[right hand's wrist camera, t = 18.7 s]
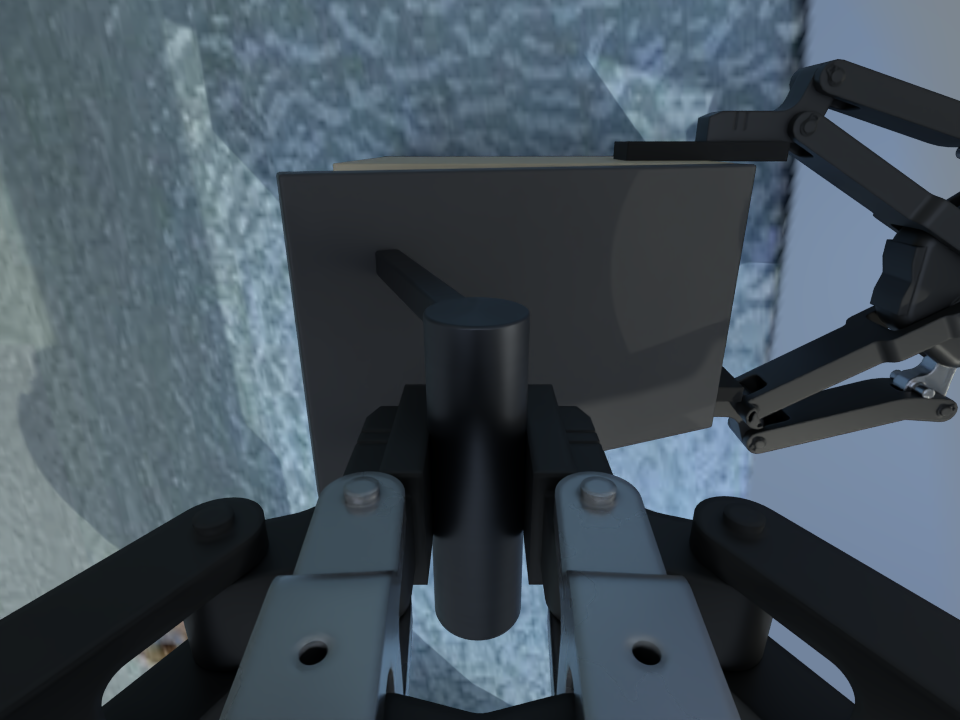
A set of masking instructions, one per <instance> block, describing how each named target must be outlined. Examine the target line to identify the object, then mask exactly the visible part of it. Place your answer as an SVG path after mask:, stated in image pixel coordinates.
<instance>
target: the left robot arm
mask: <svg viewBox="0 0 960 720" xmlns="http://www.w3.org/2000/svg"><path fill="white" fill-rule="evenodd" d="M789 85H790V92H789V94H788V96H787V97H786V99H785V101H784V102H783V104H782V105H781V106H780V107H779V108H777V109H776V110H774V111H719V112H713V113H709V114H707V115H704V116H702V117H699V118H698V124H697V132H696V140H695V141H627V142H615V145H614V157H613V159H617V160H624V161H787V157H788V153H789V154H790V155H791V156H793V157H794V158H796V159H797V160H799V161H800V162H801V163H803V164H804V165H806V166H807V167H809V168H810V169H811V170H813V171H814V172H816V173H817V174H819V175H820V176H821V177H823V178H824V179H826V180H827V181H829V182H830V183H831V184H833V185H834V186H836V187H837V188H839V189H840V190H841V191H843V192H844V193H846V194H847V195H849V196H850V197H851V198H853V199H854V200H856V201H857V202H859V203H860V204H861V205H863V206H864V207H866V208H867V209H869V210H870V211H871V212H873V216H874V217H875V218H876V219H878V220H879V221H881V222H882V223H884V224H885V225H886V226H888V227H889V228H891V229H892V230H894V231H895V232H896V233H897V234H896V235H895V237H894V238H893V240H891V239H887V241H886V245H885V249H884V252H883V272H882V275H881V276H880V278H879V280H878V282H877V284H876V286H875V287H874V290H873V294H872V298H871V301H870V304H872V305H874V306H872V307H870V308H868V309H866V310H864V311H862V312H860V313H858V314H856V315H854V316H851V317H850V318H848V319H847V320H846V324H845V325H844V326H843V327H841V328H838V329H836V330H834V331H832V332H830V333H828V334H826V335H824V336H822V337H820V338H818V339H816V340H813V341H811V342H809V343H807V344H805V345H803V346H801V347H799V348H797V349H795V350H793V351H791V352H788V353H786V354H784V355H782V356H780V357H778V358H776V359H774V360H772V361H770V362H767V363H765V364H763V365H761V366H759V367H757V368H755V369H753V370H751V371H749V372H747V373H745V374H742V375H740V376H738V377H736V378H734V377H733V376H732V375H731V374H730V373H729V372H728V371H727V370H726V369H725V368H724V367H723V366H722V370H721V375H720V381H719V387H718V393H717V399H716V405H715V410H714V416H713V417H729V419H728V425H729V427H730V428H731V430H732V431H733V432H734V433H735V435H736V436H737V437H738V438H739V439H740V441H741V442H742V443H743V444H744V446H745V447H746V448H747V449H748V450H749V451H750V452H751V453H755V454H759V453H764V452H769V451H773V450H777V449H782V448H786V447H790V446H794V445H799V444H803V443H807V442H812V441H816V440H820V439H825V438H829V437H833V436H837V435H842V434H846V433H850V432H855V431H859V430H863V429H868V428H872V427H876V426H880V425H885V424H889V423H893V422H898V421H902V420H917V421H933V422H944V421H947V420H949V419H951V418H952V417H953V416H954V415H955V414H956V412H957V408H958V407H957V404H956V403H955V402H954V401H953V400H951V399H949V398H948V397H946V393H947V391H948V388H949V386H950V383H951V381H952V378H953V376H954V373H955V371H956V368H958V367H960V192H958V193H957V194H955V195H954V196H952V197H950V198H949V199H947V200H945V199H943V198H940V197H938V196H935V195H933V194H931V193H929V192H928V191H926V190H925V189H924V188H922V187H921V186H919V185H918V184H917V183H915V182H914V181H913V180H911V179H910V178H909V177H907V176H906V175H904V174H903V173H902V172H900V171H899V170H897V169H896V168H895V167H893V166H892V165H891V164H889V163H888V162H886V161H885V160H884V159H882V158H881V157H880V156H878V155H877V154H875V153H874V152H873V151H871V150H870V149H869V148H867V147H866V146H864V145H863V144H862V143H860V142H859V141H857V140H856V139H855V138H853V137H852V136H851V135H849V134H848V133H846V132H845V131H844V130H842V129H841V128H840V127H838V126H837V125H835V124H834V123H833V122H831V121H830V120H829V119H827V118H826V117H824V115H825V114H826V112H827V110H828V109H831V110H834V111H837V112H840V113H843V114H846V115H848V116H851V117H854V118H857V119H860V120H863V121H866V122H869V123H871V124H874V125H877V126H880V127H883V128H886V129H889V130H892V131H895V132H897V133H900V134H903V135H906V136H909V137H912V138H915V139H918V140H921V141H923V142H926V143H929V144H933V145H937V146H943V147H958V149H957V151H956V157H957V158H959V159H960V101H958V100H956V99H953V98H950V97H947V96H944V95H942V94H939V93H936V92H933V91H930V90H927V89H925V88H922V87H919V86H916V85H913V84H911V83H908V82H905V81H902V80H899V79H896V78H894V77H891V76H888V75H885V74H882V73H880V72H877V71H874V70H871V69H868V68H865V67H863V66H860V65H857V64H854V63H851V62H849V61H846V60H841V59H837V60H833V61H829V62H825V63H821V64H817V65H813V66H809V67H805V68H802V69H799V70H798V71H797V72H795V73H794V75H793V76H792V78H791V81H790V84H789ZM888 328H889V329H888ZM890 329H891V330H890ZM917 354H920V355H921V356H923V357H924V358H923V360H922V362H921V363H920V364H919V365H918V366H916V367H915V368H912V369H908V370H903V371H900V370H895V371H893V372H892V373H891V374H890V378H876V379H869V380H864V381H860V382H855V383H851V384H847V385H843V386H839V387H835V388H831V389H827V390H824V389H826V388H829V387H831V386H833V385H835V384H837V383H839V382H842V381H844V380H846V379H848V378H850V377H853V376H855V375H857V374H859V373H861V372H863V371H866V370H868V369H870V368H872V367H874V366H877V365H879V364H881V363H885V362H900V361H903V360H906V359H908V358H910V357H912V356H914V355H917ZM822 390H823V391H822Z"/></svg>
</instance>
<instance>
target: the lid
mask: <svg viewBox="0 0 960 720" xmlns="http://www.w3.org/2000/svg"><path fill="white" fill-rule="evenodd" d="M755 171H756V165H754V164H733V163H721V164H669V165H616V166H564V167H511V168H459V169H407V170H354V171H302V172H278V173H277V175H276V177H277V185H278V193H279V200H280V208H281V216H282V223H283V231H284V239H285V246H286V254H287V262H288V269H289V277H290V285H291V292H292V300H293V308H294V315H295V323H296V331H297V338H298V346H299V354H300V361H301V369H302V377H303V384H304V392H305V400H306V407H307V415H308V423H309V430H310V438H311V446H312V453H313V461H314V469H315V476H316V484H317V492H318V497H319V496H320V494H321V492H322V491H323V489H324V488H325V487H326V486H327V485H329V484H330V483H331V482H333V481H335V480H336V479H338V478H341V477H343V474H344V472H345V469H346V467H347V464H348V462H349V459H350V457H351V454H352V452H353V450H354V447H355V445H356V444H357V440H358V437H359V435H360V433H361V430H362V427H363V425H364V422H365V420H366V417H367V416H369V415H370V414H371V413H373V412H374V411H375V410H376V409H378V408H379V407H380V406H399V403H400V399H401V396H402V393H403V389H404V386H405V384H426V401H427V425H428V430H429V435H430V461H431V486H432V512H433V542H432V546H433V570H434V594H435V611H436V615H437V617H438V619H439V621H440V623H441V624H442V625H443V626H444V628H445V629H447V630H448V631H449V632H450V633H452V634H454V635H456V636H458V637H460V638H464V639H468V640H488V639H492V638H495V637H498V636H500V635H502V634H504V633H505V632H506V631H508V630H509V629H510V628H511V627H512V626H513V625H514V624H515V622H516V620H517V619H518V617H519V614H520V610H521V583H522V552H523V515H524V485H525V456H526V428H527V399H528V384H552V386H553V389H554V393H555V396H556V399H557V403H558V406H577V407H578V408H580V409H581V410H582V411H583V412H585V413H586V414H587V415H588V416H590V417H591V420H592V423H593V425H594V428H595V430H596V431H595V432H596V433H597V435H598V438H599V440H600V444H601V445H602V448H603V450H604V451H606V450H610V449H615V448H619V447H624V446H628V445H633V444H637V443H642V442H646V441H651V440H655V439H660V438H664V437H669V436H673V435H678V434H682V433H687V432H691V431H696V430H700V429H705V428H709V427H711V426H712V422H713V416H714V410H715V405H716V399H717V393H718V387H719V381H720V375H721V370H722V364H723V358H724V352H725V346H726V340H727V334H728V329H729V323H730V317H731V311H732V305H733V299H734V294H735V288H736V282H737V276H738V270H739V264H740V259H741V253H742V247H743V241H744V235H745V229H746V224H747V218H748V212H749V206H750V200H751V194H752V189H753V183H754V177H755Z"/></svg>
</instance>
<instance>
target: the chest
mask: <svg viewBox="0 0 960 720" xmlns="http://www.w3.org/2000/svg"><path fill="white" fill-rule="evenodd" d="M613 157H614V156H385V157H380V158H373V159H365V160H357V161H349V162H342V163H334V164H333V171H354V170H407V169H459V168H511V167H564V166H616V165H669V164H721V163H727V162H716V161H624V160H617V159H613ZM733 164H734V163H733Z"/></svg>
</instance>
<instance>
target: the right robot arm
mask: <svg viewBox="0 0 960 720" xmlns="http://www.w3.org/2000/svg"><path fill="white" fill-rule="evenodd" d="M595 431H596V430H595V428H594V425H593V423H592V420H591V417H590V416H588V415H587V414H586V413H585V412H583V411H582V410H581V409H580V408H578V407H577V406H558V403H557V399H556V396H555V393H554V389H553V386H552V384H528V399H527V428H526V456H525V485H524V515H523V535H524V544H525V553H526V562H527V572H528V581H529V585H543V587H544V594H545V600H546V604H547V606H548V618H547V624H548V642H549V660H550V678H551V696H550V697H546V698H543V699H539V700H535V701H531V702H527V703H523V704H520V705H516V706H512V707H508V708H504V709H500V710H496V711H493V712H488V713H472V712H467V711H464V710H460V709H456V708H452V707H448V706H444V705H440V704H437V703H433V702H429V701H425V700H421V699H417V698H414V697H410V696H409V678H410V660H411V641H412V623H413V619H412V602H411V595H412V588H413V585H428V576H429V568H430V559H431V550H432V542H433V512H432V486H431V461H430V435H429V430H428V425H427V401H426V384H405V386H404V389H403V393H402V396H401V399H400V403H399V406H380V407H379V408H378V409H376V410H375V411H374V412H373V413H371V414H370V415H369V416H367V417H366V420H365V422H364V425H363V427H362V430H361V433H360V435H359V437H358V440H357V444H356V445H355V447H354V450H353V452H352V454H351V457H350V459H349V462H348V464H347V467H346V469H345V472H344V474H343V477H341V478H338V479H336V480H335V481H333V482H331V483H330V484H329V485H327V486H326V487H325V488H324V489H323V491H322V492H321V494H320V496H319V498H318V501H317V504H316V506H315V507H313V508H310V509H308V510H305V511H302V512H299V513H295V514H291V515H286V516H281V517H276V518H272V519H267V520H265V517H264V512H263V509H262V507H261V506H260V505H259V504H258V503H256V502H254V501H252V500H249V499H245V498H235V497H233V498H222V499H216V500H212V501H208V502H205V503H202V504H200V505H197V506H195V507H193V508H191V509H189V510H187V511H185V512H184V513H182V514H180V515H178V516H177V517H175V518H173V519H172V520H170V521H168V522H167V523H165V524H163V525H161V526H160V527H158V528H156V529H155V530H153V531H151V532H149V533H148V534H146V535H144V536H143V537H141V538H139V539H138V540H136V541H134V542H132V543H131V544H129V545H127V546H126V547H124V548H122V549H120V550H119V551H117V552H115V553H114V554H112V555H110V556H108V557H107V558H105V559H103V560H102V561H100V562H98V563H97V564H95V565H93V566H91V567H90V568H88V569H86V570H85V571H83V572H81V573H79V574H78V575H76V576H74V577H73V578H71V579H69V580H68V581H66V582H64V583H62V584H61V585H59V586H57V587H56V588H54V589H52V590H50V591H49V592H47V593H45V594H44V595H42V596H40V597H39V598H37V599H35V600H33V601H32V602H30V603H28V604H27V605H25V606H23V607H21V608H20V609H18V610H16V611H15V612H13V613H11V614H10V615H8V616H6V617H4V618H3V619H1V620H0V720H960V620H959V619H957V618H956V617H954V616H952V615H950V614H949V613H947V612H945V611H944V610H942V609H940V608H939V607H937V606H935V605H933V604H932V603H930V602H928V601H927V600H925V599H923V598H921V597H920V596H918V595H916V594H915V593H913V592H911V591H910V590H908V589H906V588H904V587H903V586H901V585H899V584H898V583H896V582H894V581H892V580H891V579H889V578H887V577H886V576H884V575H882V574H880V573H879V572H877V571H875V570H874V569H872V568H870V567H869V566H867V565H865V564H863V563H862V562H860V561H858V560H857V559H855V558H853V557H851V556H850V555H848V554H846V553H845V552H843V551H841V550H840V549H838V548H836V547H834V546H833V545H831V544H829V543H828V542H826V541H824V540H822V539H821V538H819V537H817V536H816V535H814V534H812V533H811V532H809V531H807V530H805V529H804V528H802V527H800V526H799V525H797V524H795V523H793V522H792V521H790V520H788V519H787V518H785V517H783V516H782V515H780V514H778V513H776V512H775V511H773V510H771V509H769V508H767V507H766V506H764V505H761V504H759V503H756V502H753V501H750V500H747V499H743V498H738V497H730V496H718V497H712V498H708V499H705V500H703V501H702V502H700V503H699V504H698V505H697V506H696V508H695V510H694V516H693V520H690V519H685V518H680V517H675V516H671V515H666V514H661V513H657V512H654V511H651V510H648V509H646V508H645V507H644V504H643V501H642V498H641V496H640V494H639V492H638V491H637V489H636V488H635V487H634V486H633V485H631V484H630V483H629V482H627V481H625V480H623V479H622V478H619V477H617V476H614V475H613V473H612V471H611V468H610V466H609V463H608V461H607V458H606V456H605V453H604V450H603V448H602V445H601V444H600V440H599V438H598V435H597V433H596V432H595ZM772 618H774V619H775V620H777V621H778V622H779V623H781V624H782V625H783V626H784V627H786V628H787V629H789V630H790V631H791V632H792V633H794V634H795V635H796V636H798V637H799V638H800V639H802V640H803V641H804V642H806V643H807V644H808V645H810V646H811V647H812V648H814V649H815V650H816V651H818V652H819V653H820V654H822V655H823V656H824V657H826V658H827V659H828V660H830V661H831V662H832V663H833V664H834V665H836V666H837V667H838V668H839V669H840V670H841V672H842V673H843V674H844V675H845V677H846V678H847V680H848V681H849V683H850V685H851V687H852V689H853V692H854V696H855V704H854V703H852V702H851V701H850V700H849V699H848V698H846V697H845V696H844V695H842V694H841V693H840V692H839V691H837V690H836V689H835V688H834V687H832V686H831V685H830V684H829V683H827V682H826V681H825V680H823V679H822V678H821V677H820V676H818V675H817V674H816V673H815V672H813V671H812V670H811V669H810V668H808V667H807V666H806V665H804V664H803V663H802V662H801V661H799V660H798V659H797V658H796V657H794V656H793V655H792V654H791V653H789V652H788V651H787V650H785V649H784V648H783V647H782V646H780V645H779V644H778V643H777V642H775V641H774V640H773V639H772V638H770V637H769V636H768V633H769V630H770V626H771V622H772ZM182 621H184V625H185V629H186V633H187V636H188V639H187V640H186V641H185V642H183V643H182V644H181V645H180V646H178V647H177V648H176V649H175V650H173V651H172V652H171V653H169V654H168V655H167V656H166V657H164V658H163V659H162V660H161V661H159V662H158V663H157V664H156V665H154V666H153V667H152V668H150V669H149V670H148V671H147V672H145V673H144V674H143V675H142V676H140V677H139V678H138V679H137V680H135V681H134V682H133V683H131V684H130V685H129V686H128V687H126V688H125V689H124V690H123V691H121V692H120V693H119V694H118V695H116V696H115V697H114V698H112V699H111V700H110V701H109V702H107V703H106V704H105V705H104V706H101V704H102V697H103V693H104V691H105V689H106V687H107V685H108V683H109V682H110V680H111V679H112V677H113V676H114V675H115V674H116V673H117V672H118V671H119V670H120V669H121V668H122V667H123V666H124V665H125V664H127V663H128V662H129V661H130V660H132V659H133V658H134V657H136V656H137V655H138V654H140V653H141V652H142V651H144V650H145V649H146V648H148V647H149V646H150V645H152V644H153V643H154V642H156V641H157V640H158V639H160V638H161V637H162V636H164V635H165V634H166V633H168V632H169V631H170V630H172V629H173V628H174V627H176V626H177V625H178V624H179V623H181V622H182Z"/></svg>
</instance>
